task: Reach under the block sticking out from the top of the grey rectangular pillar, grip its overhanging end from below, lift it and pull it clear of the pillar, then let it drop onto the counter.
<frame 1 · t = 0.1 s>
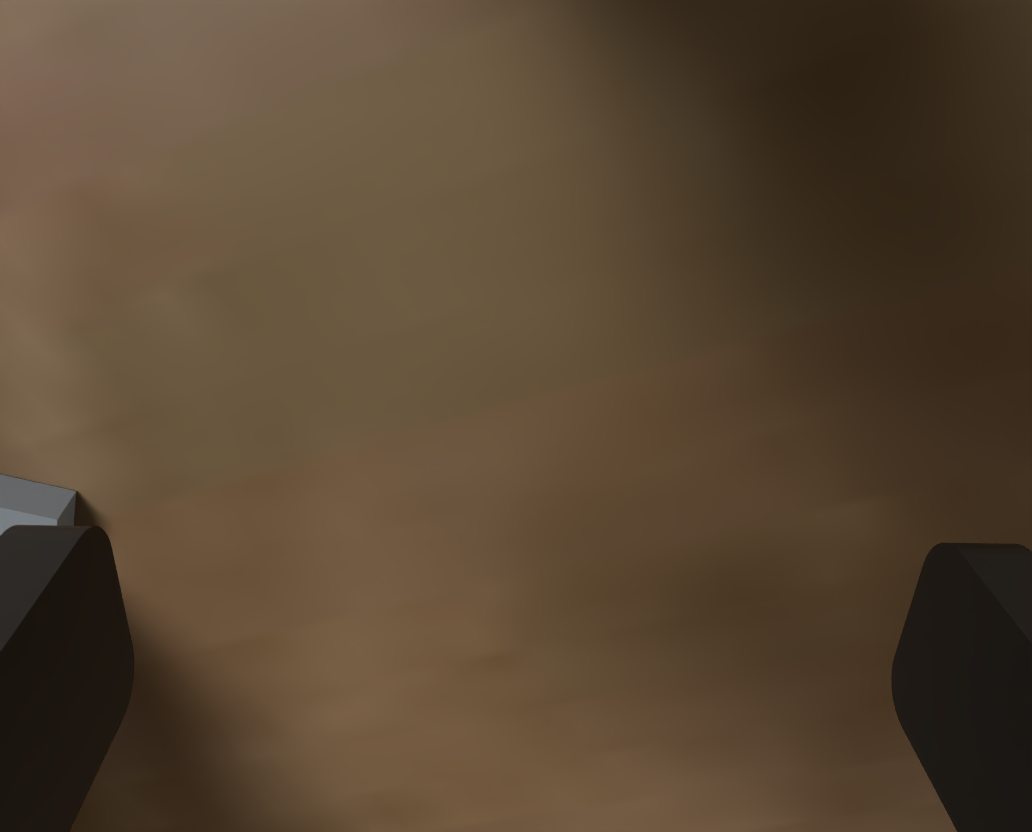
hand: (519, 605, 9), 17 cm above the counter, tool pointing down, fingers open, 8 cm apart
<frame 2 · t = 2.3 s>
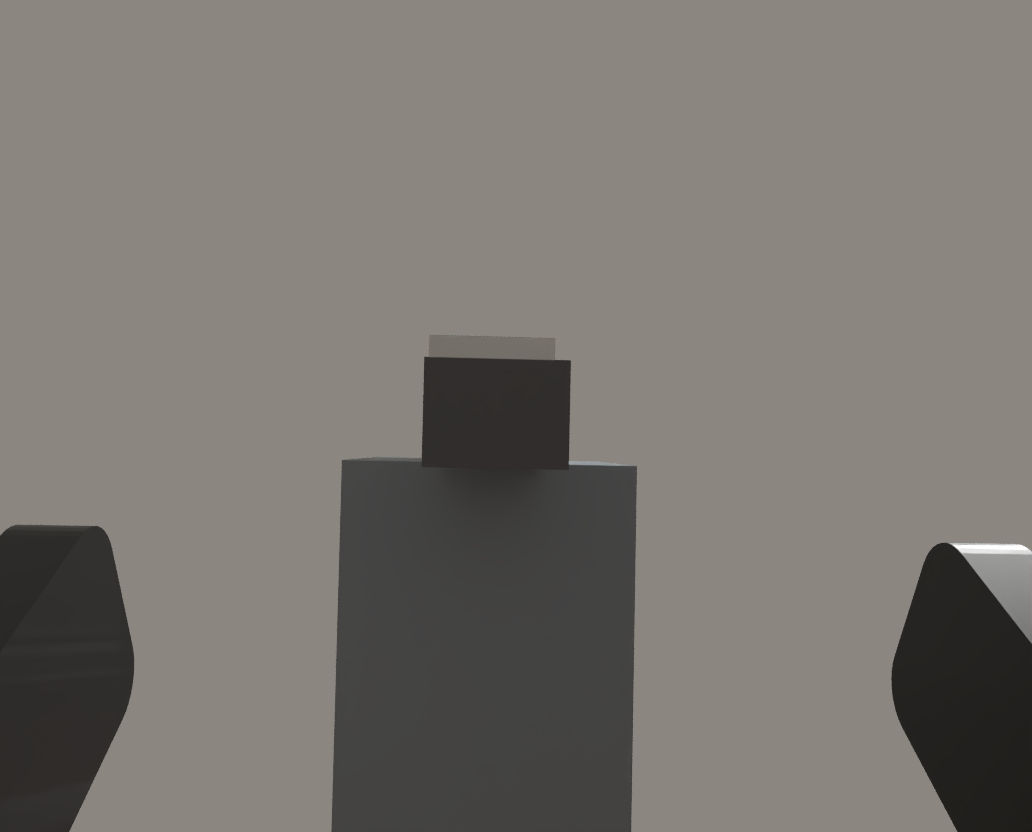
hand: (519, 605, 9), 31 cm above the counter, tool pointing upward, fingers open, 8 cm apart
block: (490, 462, 35), point 32 cm above the counter, touching grey rectangular pillar
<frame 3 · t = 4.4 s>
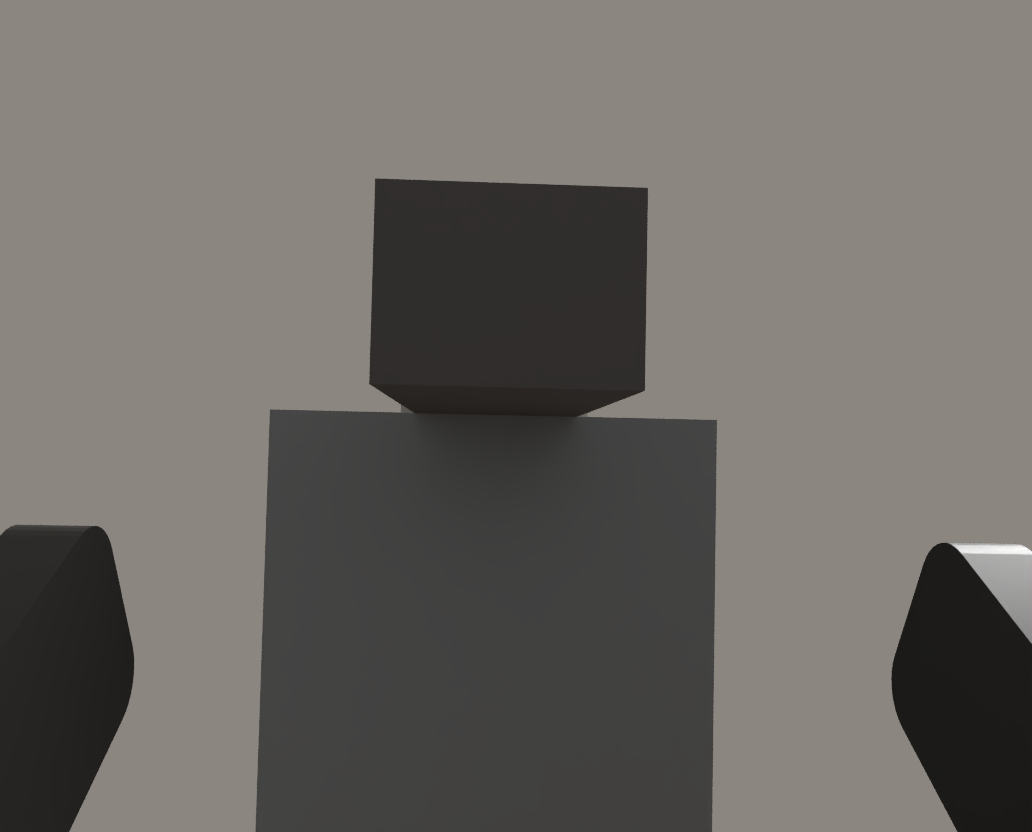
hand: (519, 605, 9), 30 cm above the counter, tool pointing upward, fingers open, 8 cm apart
block: (494, 417, 23), point 32 cm above the counter, touching grey rectangular pillar
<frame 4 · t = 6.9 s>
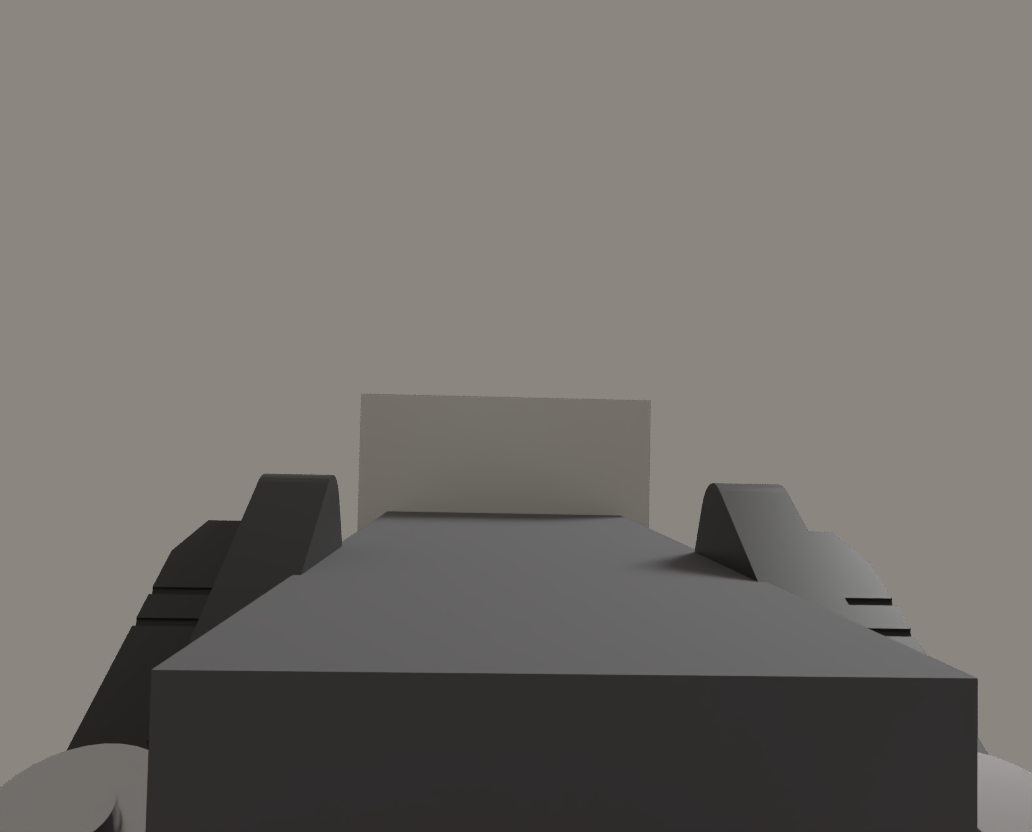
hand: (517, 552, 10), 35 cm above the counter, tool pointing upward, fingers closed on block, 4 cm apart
block: (501, 698, 15), point 32 cm above the counter, touching gripper, grey rectangular pillar
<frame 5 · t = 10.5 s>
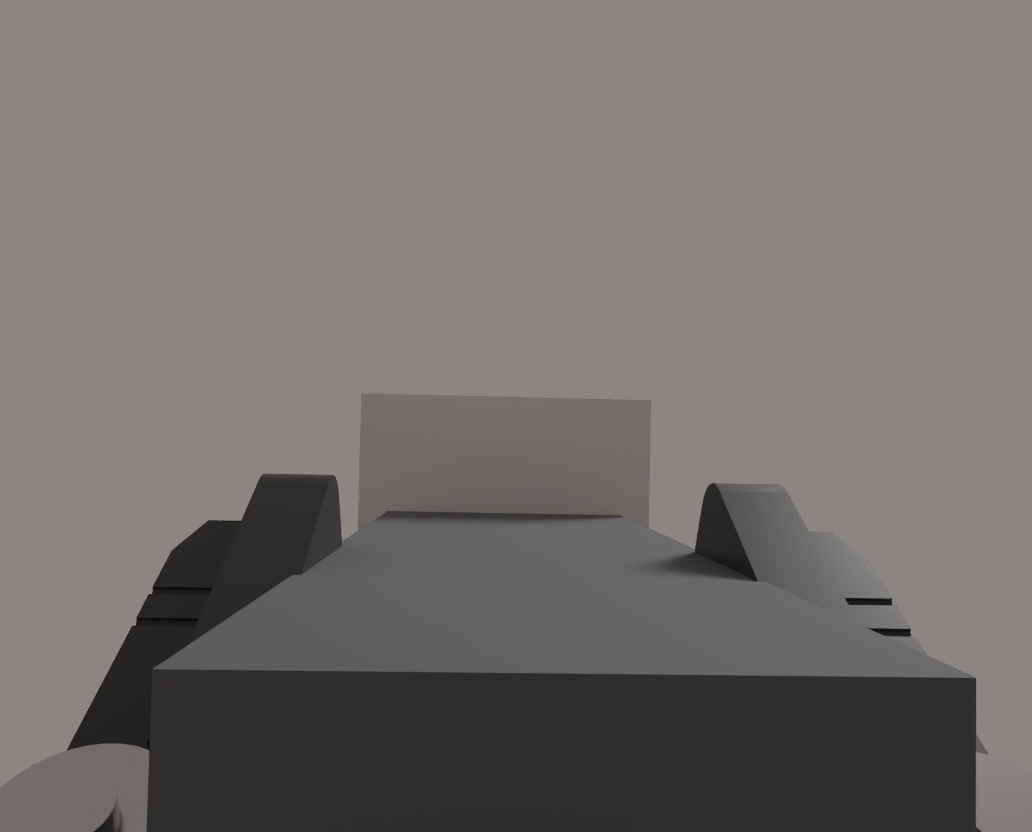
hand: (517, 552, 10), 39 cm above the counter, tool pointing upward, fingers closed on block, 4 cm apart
block: (501, 697, 15), point 36 cm above the counter, touching gripper
when the fingers open (26 cm above the counter, at t = 14.5 s): block drops 23 cm, on the counter.
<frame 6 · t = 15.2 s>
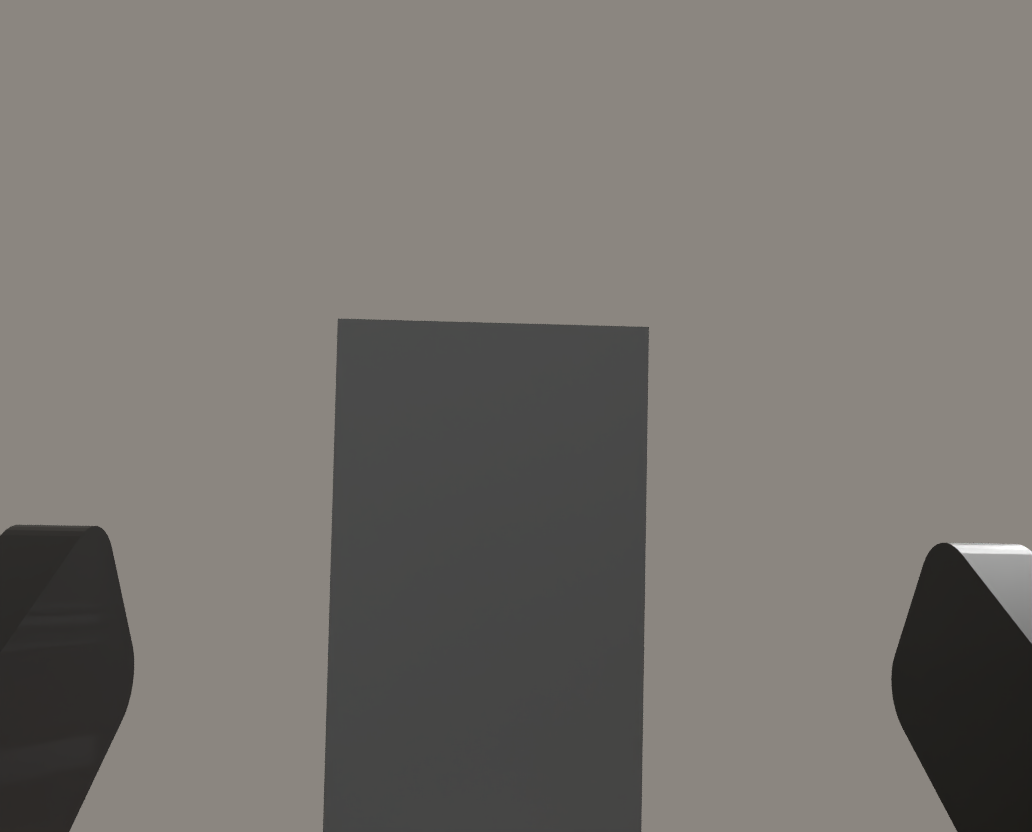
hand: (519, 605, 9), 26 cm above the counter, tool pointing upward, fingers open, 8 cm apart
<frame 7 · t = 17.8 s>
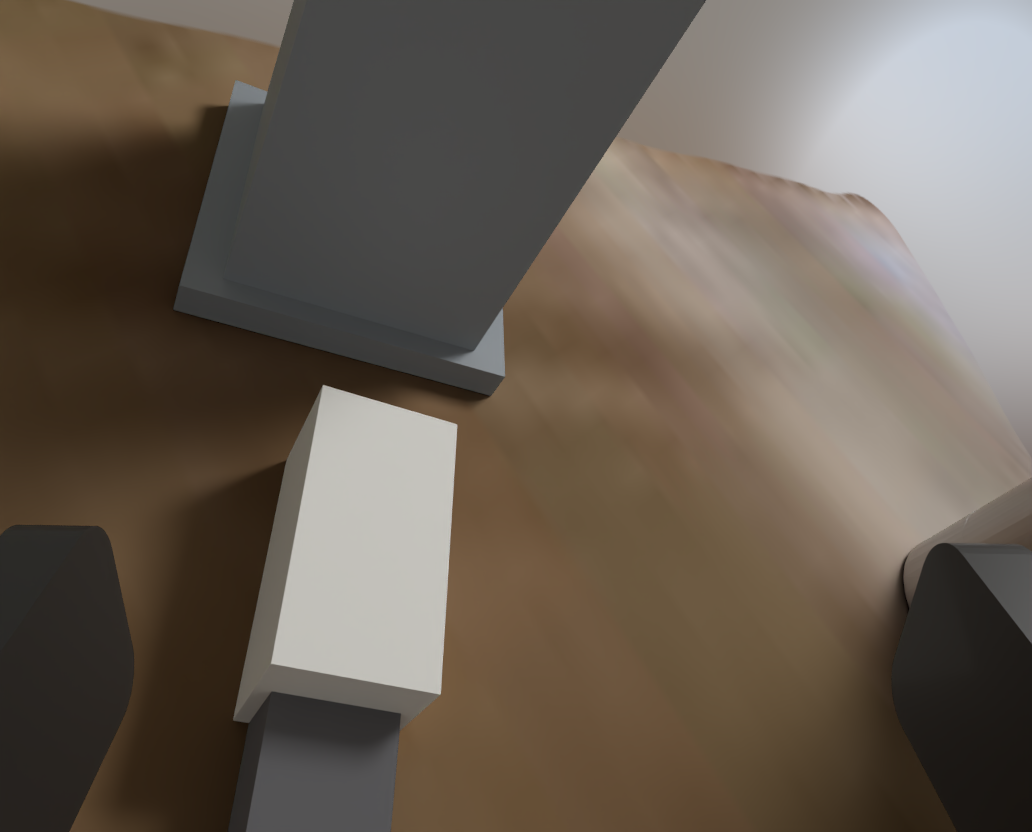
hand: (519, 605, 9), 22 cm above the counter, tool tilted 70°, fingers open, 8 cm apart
block: (308, 748, 28), on the counter
grey rectangular pillar: (355, 244, 42), on the counter
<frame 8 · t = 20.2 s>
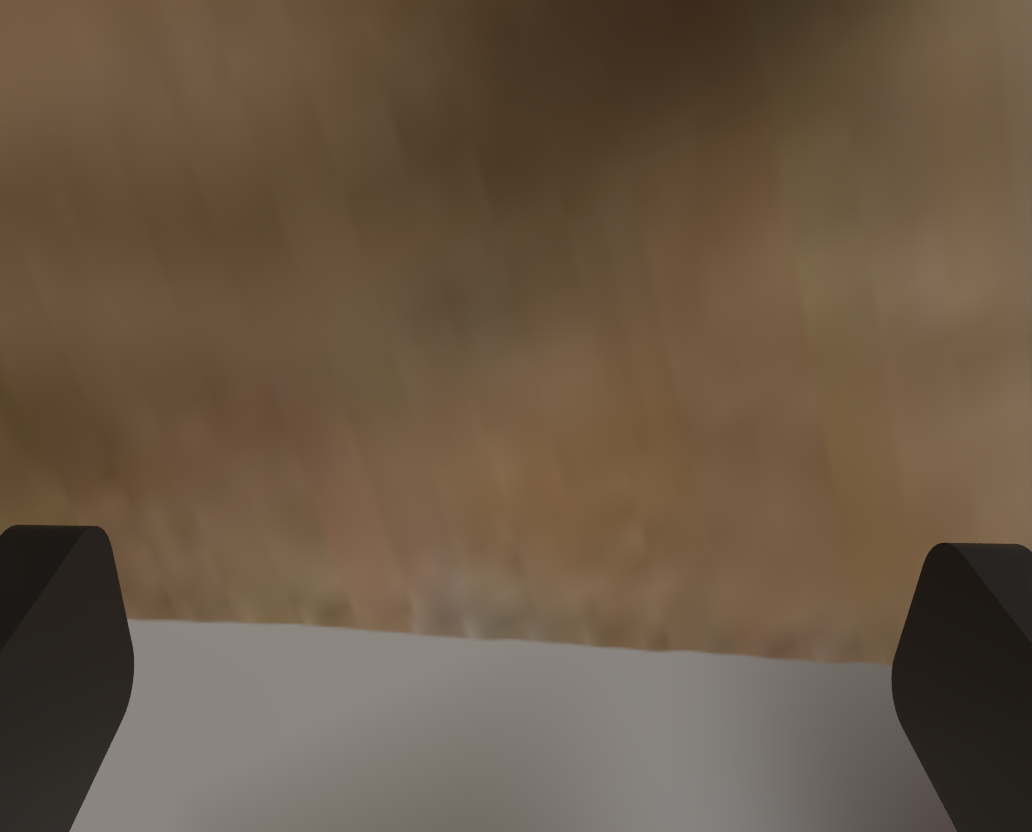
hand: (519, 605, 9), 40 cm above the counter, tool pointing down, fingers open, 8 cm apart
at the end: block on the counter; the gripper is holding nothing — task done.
